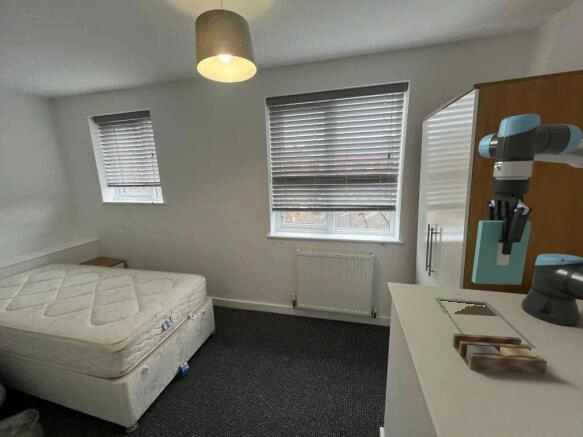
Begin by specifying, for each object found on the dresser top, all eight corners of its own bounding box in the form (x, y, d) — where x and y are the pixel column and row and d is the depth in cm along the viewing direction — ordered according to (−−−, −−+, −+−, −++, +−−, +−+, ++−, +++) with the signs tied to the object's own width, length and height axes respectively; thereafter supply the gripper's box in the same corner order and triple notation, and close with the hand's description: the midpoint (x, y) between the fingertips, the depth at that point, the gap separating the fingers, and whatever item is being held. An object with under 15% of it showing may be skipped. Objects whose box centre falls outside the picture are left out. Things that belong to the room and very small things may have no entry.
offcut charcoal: (492, 359, 70) (494, 346, 69) (499, 367, 67) (501, 354, 66) (465, 357, 71) (467, 344, 70) (471, 365, 68) (473, 352, 67)
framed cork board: (465, 340, 78) (432, 294, 107) (464, 344, 78) (432, 297, 107) (537, 348, 74) (482, 298, 103) (536, 352, 74) (482, 301, 103)
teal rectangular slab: (516, 282, 70) (526, 220, 67) (521, 284, 69) (531, 221, 65) (471, 281, 71) (479, 220, 68) (474, 283, 70) (482, 221, 66)
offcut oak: (525, 361, 69) (527, 348, 68) (534, 369, 66) (537, 356, 65) (498, 359, 70) (500, 347, 69) (505, 367, 67) (508, 354, 66)
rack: (516, 352, 74) (518, 337, 73) (543, 378, 64) (547, 361, 64) (451, 347, 76) (453, 333, 75) (469, 372, 67) (471, 356, 66)
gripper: (477, 177, 72) (468, 254, 76) (517, 179, 58) (503, 273, 62) (505, 177, 71) (494, 254, 76) (552, 179, 57) (536, 274, 61)
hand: (498, 263), depth 69 cm, fingers closed on teal rectangular slab, 2 cm apart
